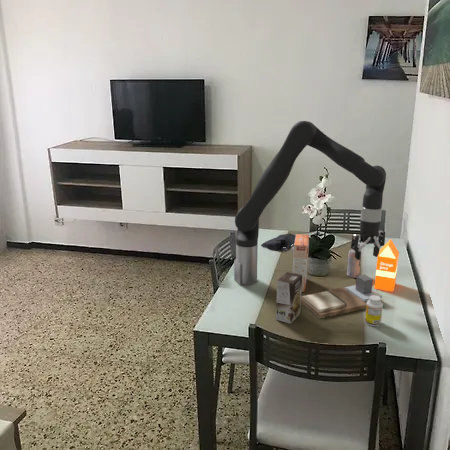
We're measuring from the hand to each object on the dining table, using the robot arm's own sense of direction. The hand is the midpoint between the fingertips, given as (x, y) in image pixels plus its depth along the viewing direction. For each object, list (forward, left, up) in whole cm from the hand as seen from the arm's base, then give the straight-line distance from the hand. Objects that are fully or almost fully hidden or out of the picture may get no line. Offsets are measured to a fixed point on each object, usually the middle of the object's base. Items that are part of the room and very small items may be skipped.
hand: (366, 257), depth 186 cm
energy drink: (+9, +19, -18) cm, 28 cm away
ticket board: (-15, 0, -17) cm, 23 cm away
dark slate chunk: (0, +68, -18) cm, 70 cm away
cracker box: (-18, +20, -18) cm, 32 cm away
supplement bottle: (-10, -18, -18) cm, 27 cm away
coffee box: (-36, -2, -18) cm, 40 cm away
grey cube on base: (0, 0, -16) cm, 16 cm away
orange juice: (+15, +5, -18) cm, 24 cm away
